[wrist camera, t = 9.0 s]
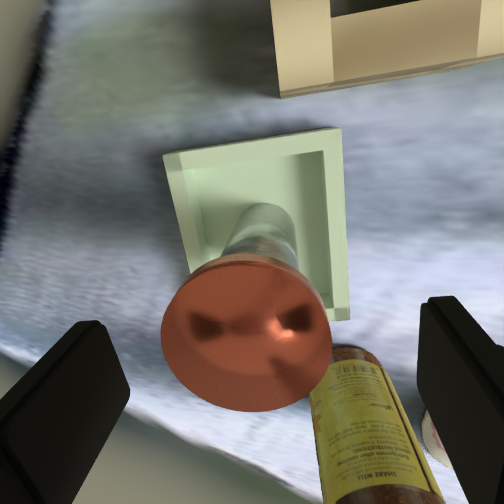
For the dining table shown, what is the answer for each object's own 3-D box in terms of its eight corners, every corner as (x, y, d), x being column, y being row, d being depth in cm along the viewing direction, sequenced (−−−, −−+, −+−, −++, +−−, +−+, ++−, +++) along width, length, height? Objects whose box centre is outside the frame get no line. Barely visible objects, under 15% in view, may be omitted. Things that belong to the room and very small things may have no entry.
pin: (217, 196, 21) (141, 277, 10) (303, 185, 21) (325, 259, 9) (231, 274, 23) (181, 415, 12) (310, 266, 23) (337, 409, 11)
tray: (175, 151, 21) (162, 155, 19) (334, 126, 20) (341, 127, 17) (211, 310, 25) (204, 330, 23) (343, 299, 24) (350, 319, 22)
